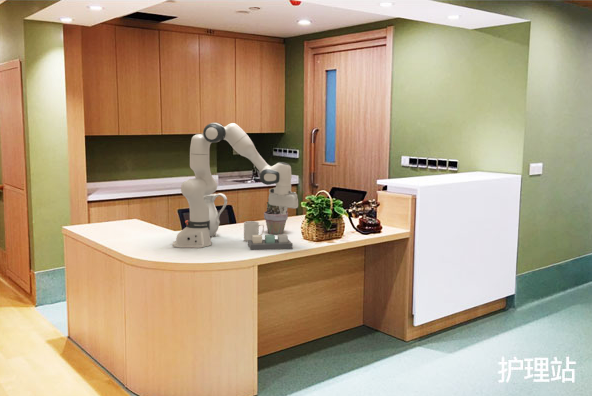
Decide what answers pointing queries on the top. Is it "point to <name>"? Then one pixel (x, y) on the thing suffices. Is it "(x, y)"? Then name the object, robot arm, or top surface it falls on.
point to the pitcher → (214, 211)
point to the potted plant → (275, 219)
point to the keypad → (269, 245)
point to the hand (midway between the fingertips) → (283, 214)
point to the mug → (251, 229)
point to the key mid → (269, 238)
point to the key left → (256, 238)
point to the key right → (282, 238)
